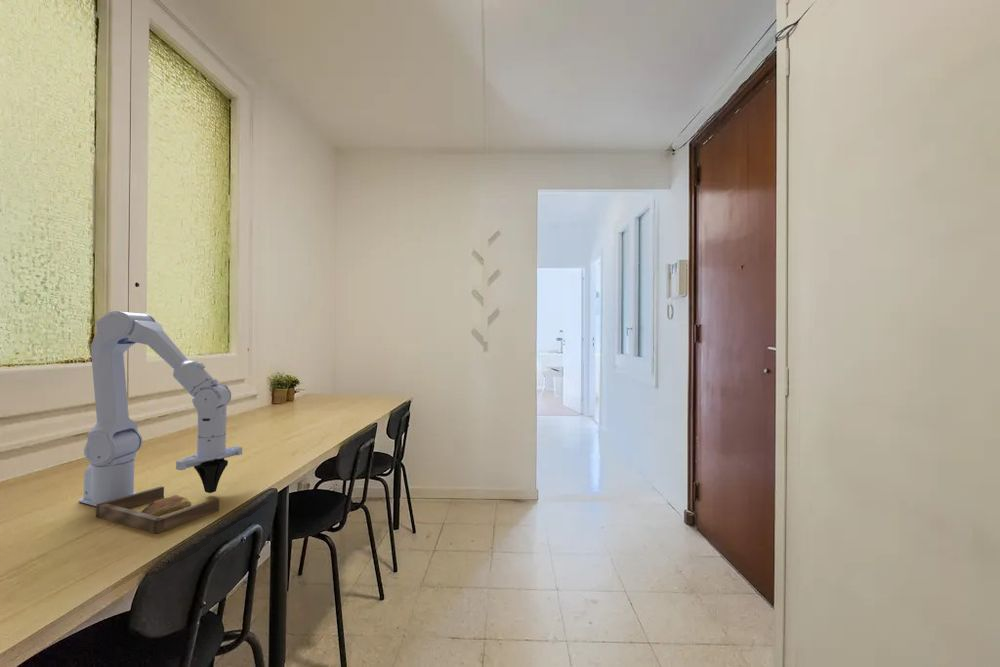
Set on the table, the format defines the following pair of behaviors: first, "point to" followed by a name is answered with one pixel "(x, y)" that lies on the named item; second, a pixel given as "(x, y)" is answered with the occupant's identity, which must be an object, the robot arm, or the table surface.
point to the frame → (121, 514)
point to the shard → (166, 505)
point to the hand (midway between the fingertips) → (210, 491)
